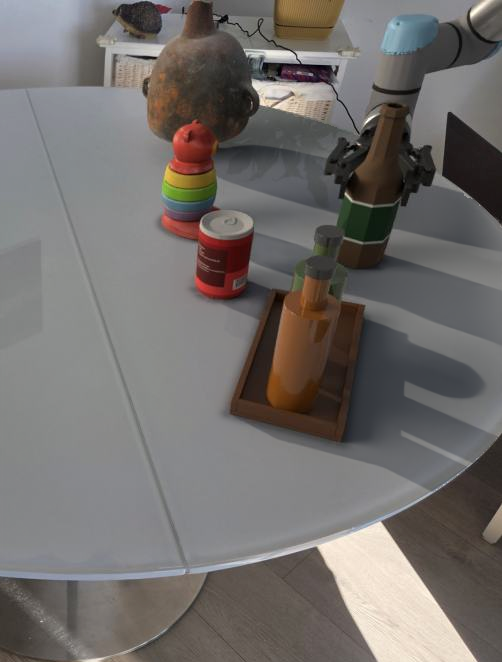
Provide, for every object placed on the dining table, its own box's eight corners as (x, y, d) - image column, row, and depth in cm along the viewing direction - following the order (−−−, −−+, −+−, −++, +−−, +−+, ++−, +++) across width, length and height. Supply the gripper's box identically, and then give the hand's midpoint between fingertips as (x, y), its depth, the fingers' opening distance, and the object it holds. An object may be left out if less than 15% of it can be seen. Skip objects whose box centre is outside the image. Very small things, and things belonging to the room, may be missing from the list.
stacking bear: (204, 242, 109) (214, 141, 98) (150, 231, 113) (153, 132, 102) (226, 215, 116) (237, 117, 105) (174, 205, 120) (179, 110, 109)
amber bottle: (319, 388, 79) (354, 253, 67) (312, 419, 75) (348, 282, 63) (270, 377, 81) (296, 244, 69) (261, 406, 77) (287, 272, 65)
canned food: (245, 273, 101) (254, 210, 94) (246, 302, 95) (255, 237, 88) (195, 270, 102) (200, 208, 95) (193, 298, 96) (198, 234, 89)
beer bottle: (355, 275, 98) (397, 119, 83) (319, 253, 104) (352, 103, 89) (394, 261, 100) (441, 107, 85) (356, 240, 106) (394, 92, 91)
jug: (250, 130, 146) (270, -18, 127) (252, 169, 130) (274, 6, 111) (143, 129, 151) (147, -13, 133) (132, 167, 135) (134, 11, 116)
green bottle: (326, 354, 83) (361, 222, 71) (320, 382, 79) (356, 247, 67) (280, 344, 86) (306, 215, 74) (272, 371, 82) (298, 239, 70)
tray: (361, 316, 90) (365, 304, 89) (340, 442, 72) (344, 429, 71) (269, 299, 95) (271, 287, 93) (229, 413, 77) (230, 401, 76)
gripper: (447, 163, 104) (447, 228, 89) (315, 150, 112) (294, 208, 96) (462, 117, 100) (465, 177, 84) (324, 107, 107) (302, 160, 92)
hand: (373, 193), depth 90 cm, fingers closed on beer bottle, 7 cm apart
